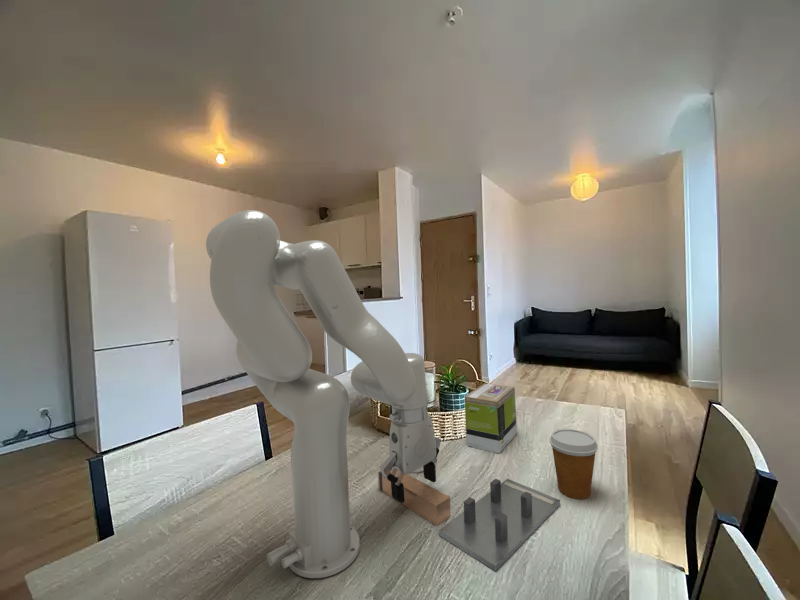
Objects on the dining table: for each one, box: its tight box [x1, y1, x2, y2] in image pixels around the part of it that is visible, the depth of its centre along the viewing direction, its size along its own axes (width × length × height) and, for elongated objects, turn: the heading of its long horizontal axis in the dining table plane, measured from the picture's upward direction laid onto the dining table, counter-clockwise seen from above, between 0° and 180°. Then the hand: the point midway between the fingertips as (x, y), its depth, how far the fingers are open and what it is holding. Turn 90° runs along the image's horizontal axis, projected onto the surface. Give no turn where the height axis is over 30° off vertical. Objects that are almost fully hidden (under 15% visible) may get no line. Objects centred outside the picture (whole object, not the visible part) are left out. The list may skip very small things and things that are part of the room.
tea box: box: [464, 382, 518, 454], centre depth 105 cm, size 15×10×15 cm, turn 144°
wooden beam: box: [377, 467, 451, 527], centre depth 77 cm, size 18×4×4 cm, turn 42°
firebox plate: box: [438, 478, 561, 572], centre depth 70 cm, size 24×12×5 cm, turn 133°
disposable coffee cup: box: [549, 428, 599, 500], centre depth 78 cm, size 10×10×12 cm
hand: (414, 489), depth 78 cm, fingers open, 9 cm apart
